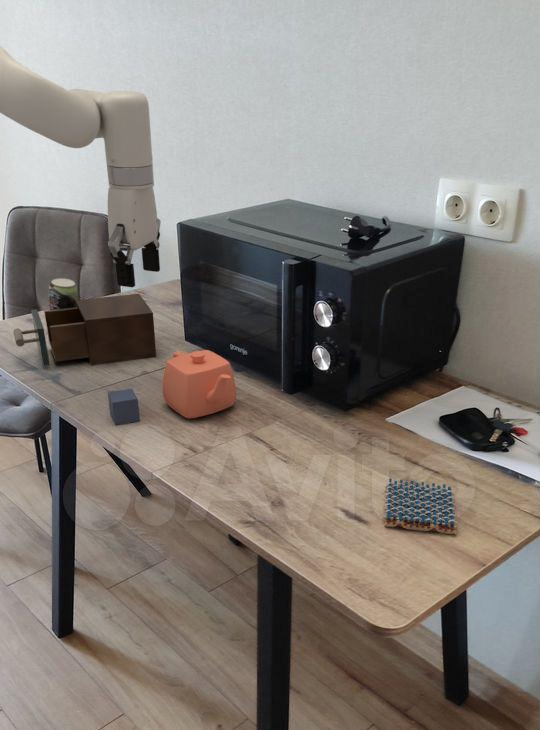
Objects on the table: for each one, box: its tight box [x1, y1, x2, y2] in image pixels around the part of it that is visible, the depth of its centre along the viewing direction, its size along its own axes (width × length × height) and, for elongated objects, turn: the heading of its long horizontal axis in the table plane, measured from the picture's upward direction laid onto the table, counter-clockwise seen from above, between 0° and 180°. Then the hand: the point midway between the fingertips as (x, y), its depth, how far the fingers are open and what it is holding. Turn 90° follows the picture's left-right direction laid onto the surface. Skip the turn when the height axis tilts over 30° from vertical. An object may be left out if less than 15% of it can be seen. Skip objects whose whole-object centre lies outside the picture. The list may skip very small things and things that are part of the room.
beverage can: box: [48, 277, 79, 310], centre depth 154 cm, size 6×7×12 cm
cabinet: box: [76, 293, 157, 366], centre depth 148 cm, size 14×13×10 cm
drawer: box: [12, 307, 89, 367], centre depth 144 cm, size 17×11×8 cm
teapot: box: [161, 349, 237, 419], centre depth 126 cm, size 12×18×10 cm, turn 37°
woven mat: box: [382, 478, 459, 536], centre depth 102 cm, size 10×11×2 cm
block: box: [107, 388, 141, 426], centre depth 124 cm, size 4×4×4 cm
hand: (139, 278), depth 126 cm, fingers open, 9 cm apart
